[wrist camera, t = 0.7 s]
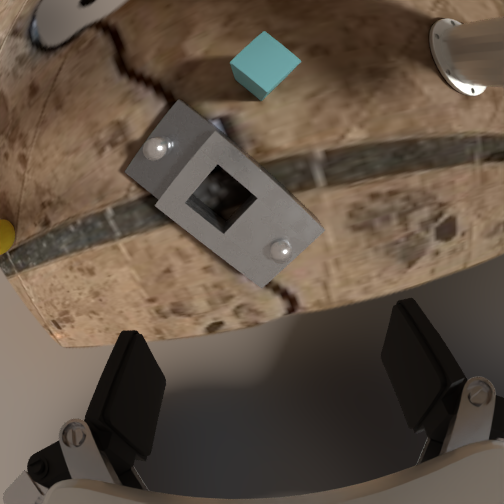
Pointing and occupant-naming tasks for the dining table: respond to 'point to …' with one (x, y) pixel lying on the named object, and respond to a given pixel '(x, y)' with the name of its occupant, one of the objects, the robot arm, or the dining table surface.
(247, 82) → the pin
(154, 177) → the grey slotted base
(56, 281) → the dining table surface
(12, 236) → the lemon
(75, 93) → the dining table surface
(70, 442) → the robot arm
